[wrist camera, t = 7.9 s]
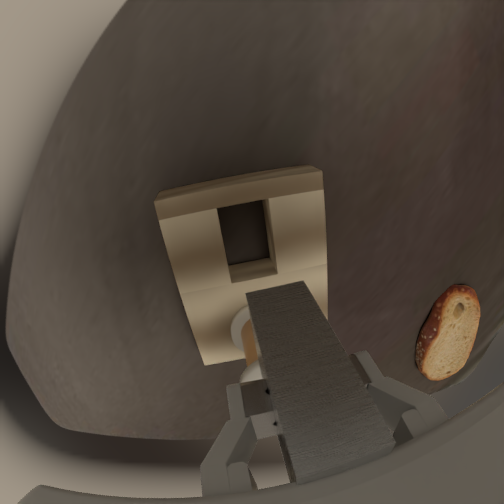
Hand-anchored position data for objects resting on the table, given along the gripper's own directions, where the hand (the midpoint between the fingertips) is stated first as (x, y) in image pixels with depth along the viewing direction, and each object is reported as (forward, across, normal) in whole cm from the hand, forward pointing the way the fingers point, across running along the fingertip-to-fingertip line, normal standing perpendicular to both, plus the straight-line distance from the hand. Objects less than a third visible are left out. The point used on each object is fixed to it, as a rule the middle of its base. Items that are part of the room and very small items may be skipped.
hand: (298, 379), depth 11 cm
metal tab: (+3, 0, 0) cm, 3 cm away
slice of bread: (+16, -29, +23) cm, 40 cm away
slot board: (+16, 0, +3) cm, 16 cm away
